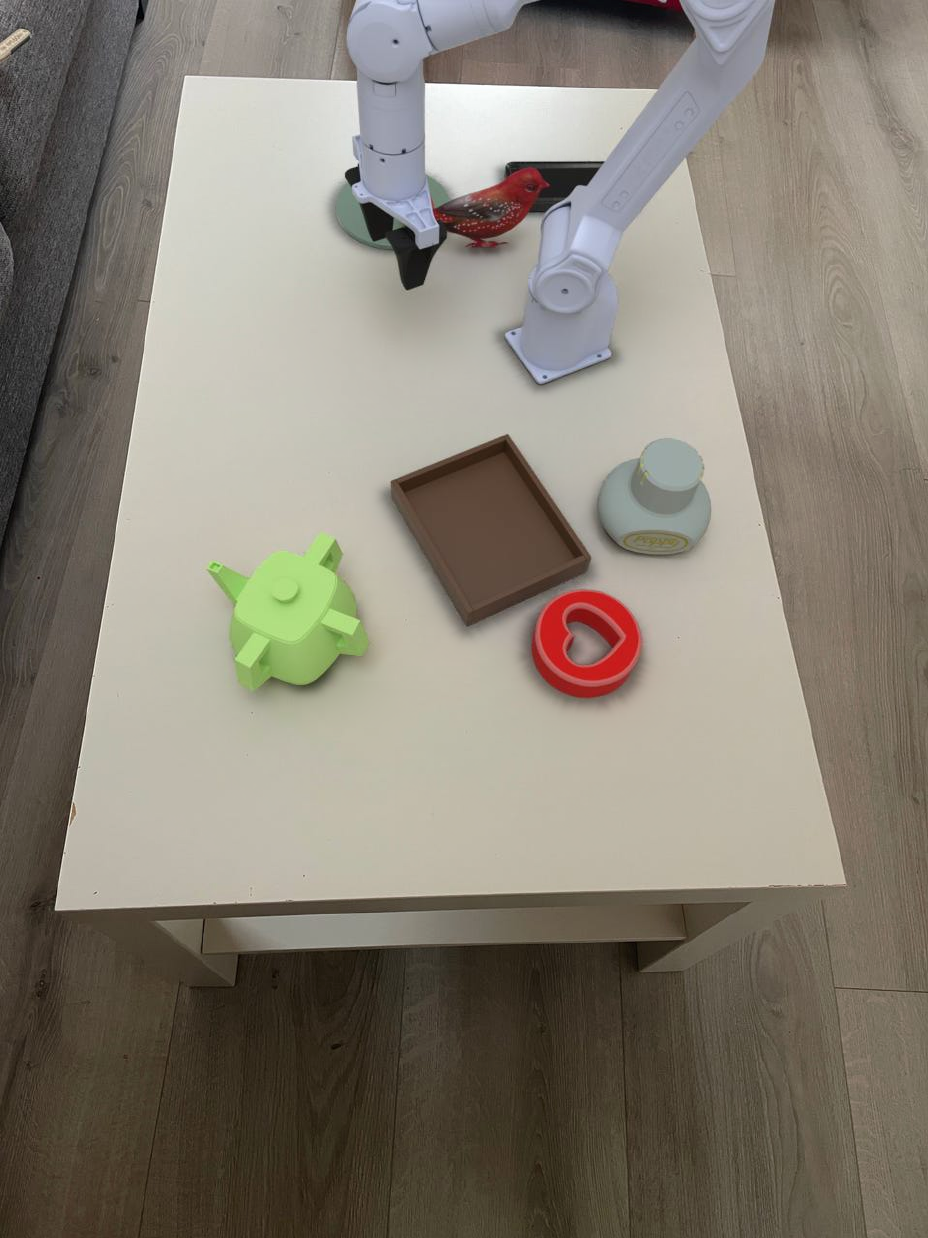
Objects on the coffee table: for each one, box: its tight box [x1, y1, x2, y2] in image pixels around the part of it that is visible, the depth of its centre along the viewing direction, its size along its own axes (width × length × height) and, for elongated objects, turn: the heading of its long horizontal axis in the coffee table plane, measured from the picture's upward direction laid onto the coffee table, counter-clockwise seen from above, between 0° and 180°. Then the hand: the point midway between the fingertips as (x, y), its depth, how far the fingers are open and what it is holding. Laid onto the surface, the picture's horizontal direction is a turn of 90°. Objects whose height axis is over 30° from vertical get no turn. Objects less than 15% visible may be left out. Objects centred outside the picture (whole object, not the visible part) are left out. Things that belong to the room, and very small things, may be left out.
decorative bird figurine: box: [432, 168, 549, 249], centre depth 97 cm, size 3×18×10 cm, turn 98°
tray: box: [390, 433, 592, 627], centre depth 83 cm, size 13×16×3 cm
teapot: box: [205, 531, 371, 692], centre depth 74 cm, size 12×12×10 cm
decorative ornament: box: [531, 588, 643, 699], centre depth 78 cm, size 10×10×3 cm
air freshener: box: [597, 437, 712, 555], centre depth 81 cm, size 11×8×10 cm
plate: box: [335, 174, 451, 251], centre depth 104 cm, size 14×14×1 cm
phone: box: [504, 160, 606, 212], centre depth 106 cm, size 8×1×15 cm
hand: (397, 260), depth 87 cm, fingers open, 7 cm apart
